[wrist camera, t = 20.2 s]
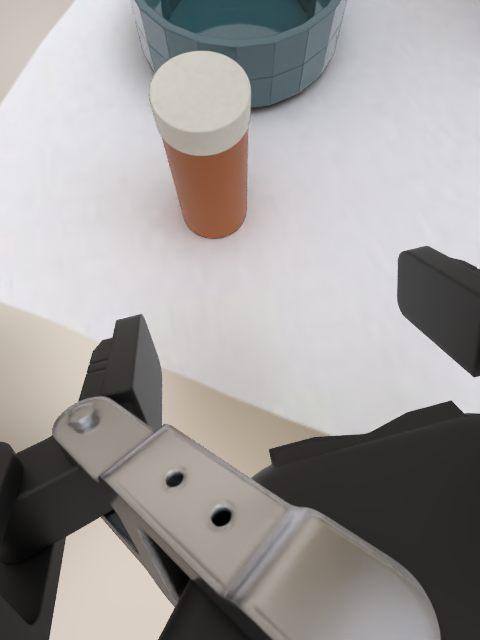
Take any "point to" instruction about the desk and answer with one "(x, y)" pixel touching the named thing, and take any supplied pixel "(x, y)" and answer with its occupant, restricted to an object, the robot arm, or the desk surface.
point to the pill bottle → (205, 137)
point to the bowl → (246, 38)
